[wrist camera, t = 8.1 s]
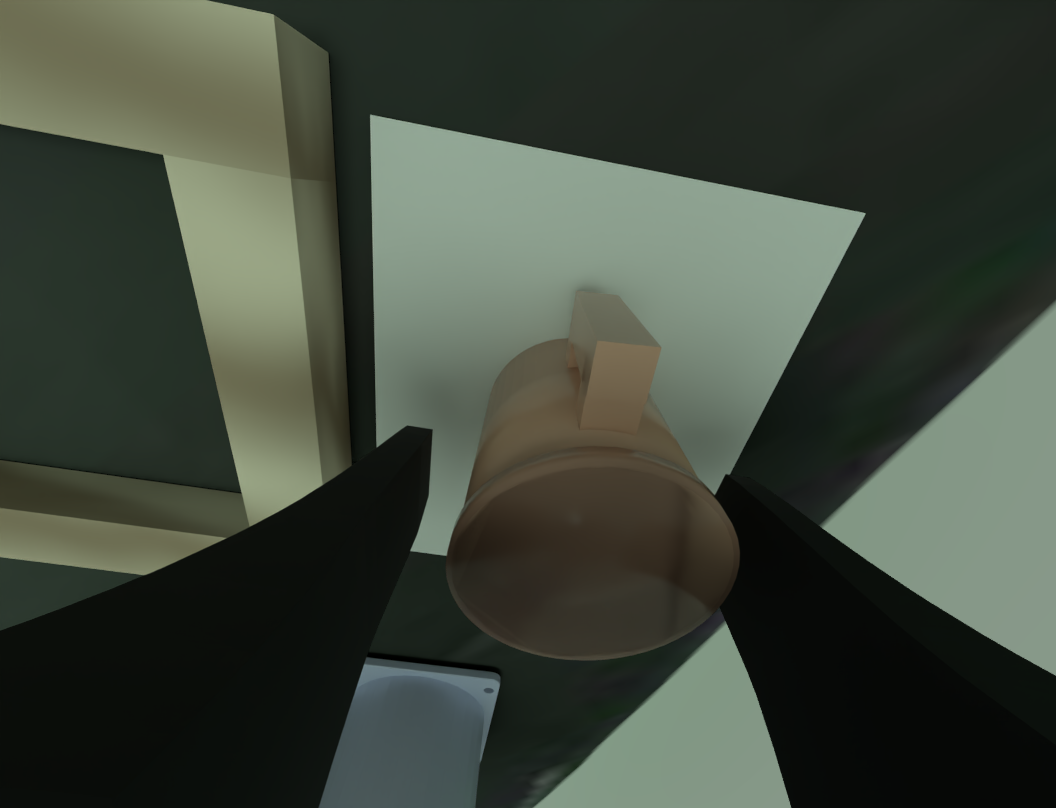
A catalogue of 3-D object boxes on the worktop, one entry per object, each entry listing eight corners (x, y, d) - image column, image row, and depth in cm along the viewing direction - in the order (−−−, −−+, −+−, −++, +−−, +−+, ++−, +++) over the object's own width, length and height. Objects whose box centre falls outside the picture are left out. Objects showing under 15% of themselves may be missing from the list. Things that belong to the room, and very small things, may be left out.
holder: (356, 554, 16) (334, 598, 14) (-62, 499, 15) (-142, 539, 13) (328, 52, 9) (274, 15, 7) (-505, -120, 8) (-823, -218, 6)
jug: (480, 471, 13) (445, 650, 8) (492, 270, 10) (446, 349, 5) (628, 485, 14) (688, 669, 8) (685, 291, 10) (839, 389, 5)
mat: (669, 579, 16) (671, 585, 16) (381, 540, 16) (378, 546, 15) (856, 213, 10) (865, 213, 9) (374, 117, 9) (370, 114, 9)
